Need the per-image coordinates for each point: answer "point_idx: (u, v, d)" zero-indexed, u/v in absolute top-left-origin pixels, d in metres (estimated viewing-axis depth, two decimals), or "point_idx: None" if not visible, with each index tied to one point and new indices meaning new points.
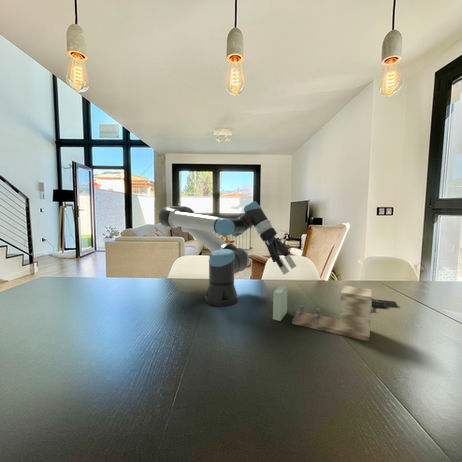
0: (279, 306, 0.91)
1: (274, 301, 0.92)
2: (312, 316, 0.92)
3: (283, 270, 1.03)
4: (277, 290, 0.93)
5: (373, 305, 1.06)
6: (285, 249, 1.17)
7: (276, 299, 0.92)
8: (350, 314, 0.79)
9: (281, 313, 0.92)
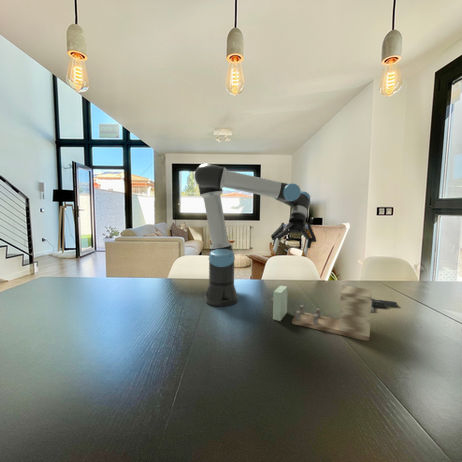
0: (279, 306, 0.91)
1: (274, 301, 0.92)
2: (312, 316, 0.92)
3: (306, 249, 1.01)
4: (277, 290, 0.93)
5: (373, 305, 1.05)
6: None
7: (276, 299, 0.92)
8: (350, 314, 0.79)
9: (281, 313, 0.92)
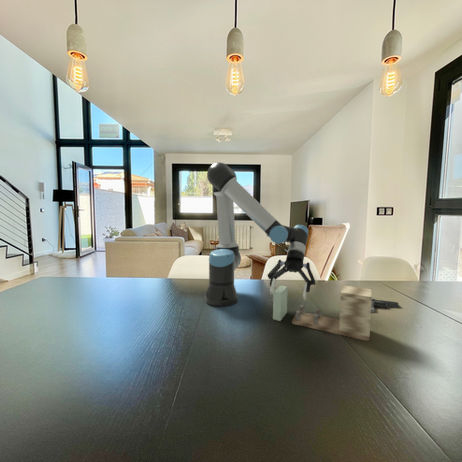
0: (279, 306, 0.91)
1: (274, 301, 0.92)
2: (312, 316, 0.92)
3: (305, 294, 0.95)
4: (277, 290, 0.93)
5: (375, 305, 1.05)
6: (273, 274, 1.08)
7: (276, 299, 0.92)
8: (350, 314, 0.79)
9: (281, 313, 0.92)
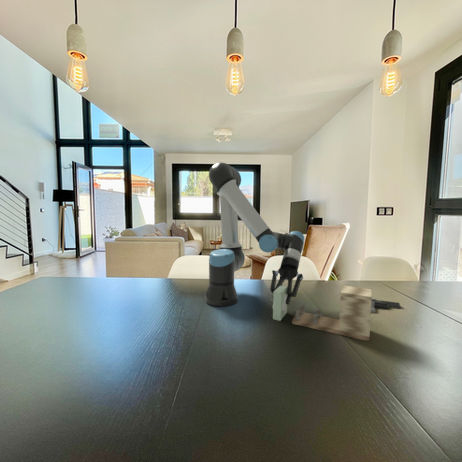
0: (279, 306, 0.91)
1: (274, 301, 0.92)
2: (312, 316, 0.92)
3: (284, 306, 0.93)
4: (277, 290, 0.93)
5: (375, 306, 1.05)
6: (274, 287, 1.02)
7: (276, 299, 0.92)
8: (350, 314, 0.79)
9: (281, 313, 0.92)
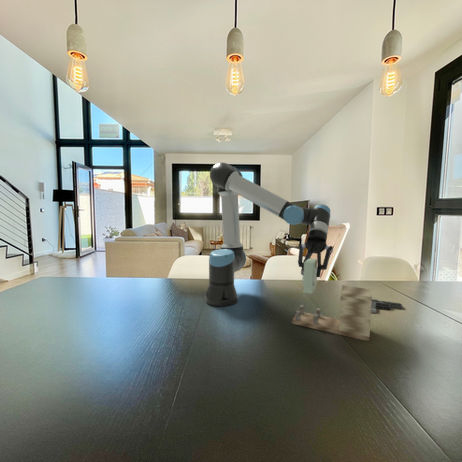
0: (310, 278, 0.85)
1: (305, 273, 0.86)
2: (312, 316, 0.92)
3: (315, 279, 0.87)
4: (307, 261, 0.87)
5: (377, 306, 1.04)
6: None
7: (306, 271, 0.85)
8: (350, 314, 0.79)
9: (312, 286, 0.86)
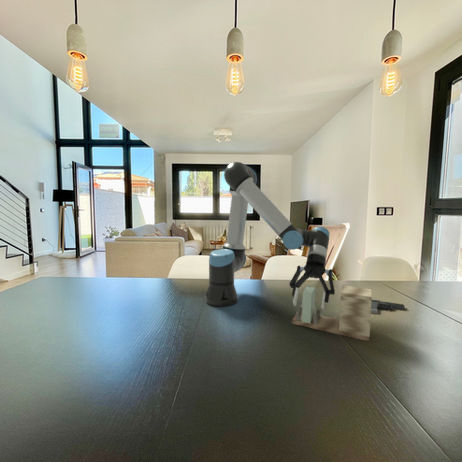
0: (309, 308, 0.86)
1: (303, 302, 0.87)
2: None
3: (324, 305, 0.87)
4: (306, 291, 0.88)
5: (379, 307, 1.03)
6: (295, 282, 0.98)
7: (305, 301, 0.86)
8: (350, 314, 0.79)
9: (311, 315, 0.87)
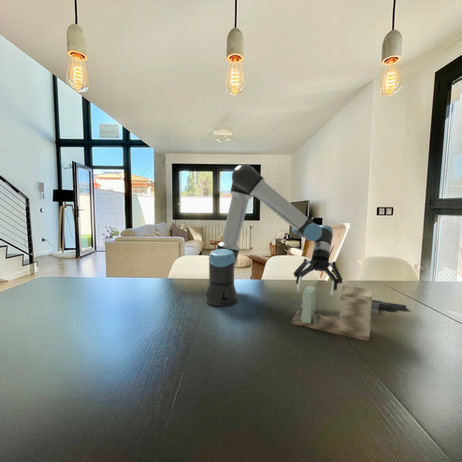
0: (309, 308, 0.86)
1: (303, 302, 0.87)
2: None
3: (332, 292, 0.98)
4: (306, 291, 0.88)
5: (380, 307, 1.03)
6: None
7: (305, 301, 0.86)
8: (350, 314, 0.79)
9: (311, 315, 0.87)
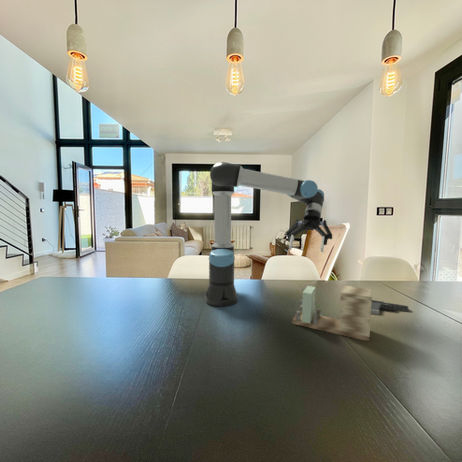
0: (309, 308, 0.86)
1: (303, 302, 0.87)
2: None
3: (323, 246, 1.02)
4: (306, 291, 0.88)
5: (381, 308, 1.02)
6: None
7: (305, 301, 0.86)
8: (350, 314, 0.79)
9: (311, 315, 0.87)
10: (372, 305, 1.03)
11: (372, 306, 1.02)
